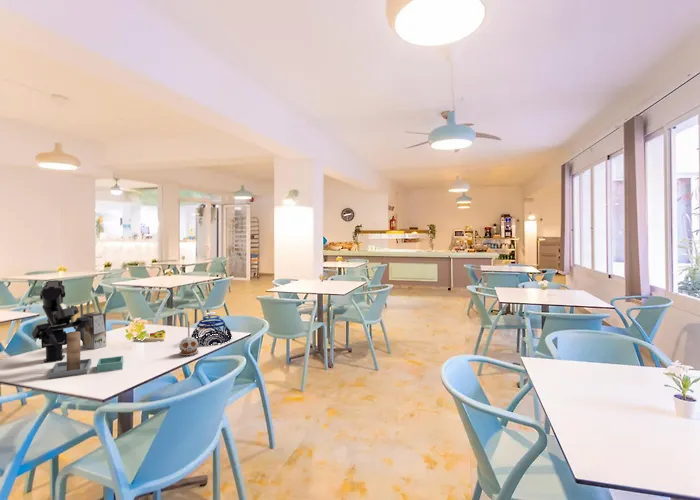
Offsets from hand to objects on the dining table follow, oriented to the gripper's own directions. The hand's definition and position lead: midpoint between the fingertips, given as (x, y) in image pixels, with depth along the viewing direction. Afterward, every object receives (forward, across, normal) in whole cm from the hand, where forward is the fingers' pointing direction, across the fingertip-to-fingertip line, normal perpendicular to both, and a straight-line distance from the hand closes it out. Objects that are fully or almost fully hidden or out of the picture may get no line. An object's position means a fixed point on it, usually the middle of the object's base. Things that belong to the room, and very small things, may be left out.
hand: (70, 343), depth 153 cm
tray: (+8, 0, +8) cm, 11 cm away
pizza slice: (-3, +50, +20) cm, 54 cm away
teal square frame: (+15, +10, +1) cm, 18 cm away
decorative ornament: (+25, +37, -8) cm, 45 cm away
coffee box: (-11, +24, +27) cm, 38 cm away
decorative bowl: (+19, +58, -2) cm, 61 cm away
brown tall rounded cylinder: (+9, 0, +6) cm, 11 cm away
